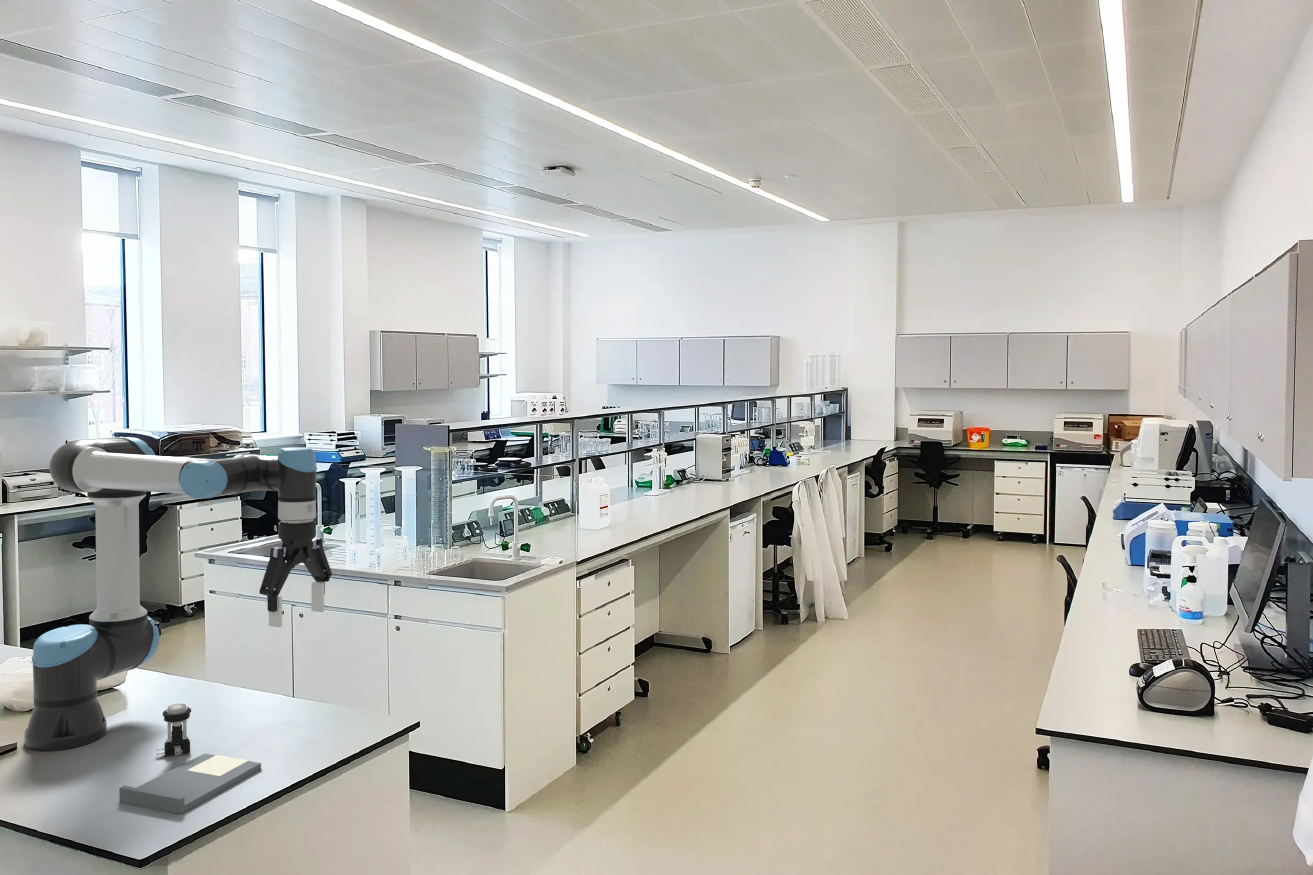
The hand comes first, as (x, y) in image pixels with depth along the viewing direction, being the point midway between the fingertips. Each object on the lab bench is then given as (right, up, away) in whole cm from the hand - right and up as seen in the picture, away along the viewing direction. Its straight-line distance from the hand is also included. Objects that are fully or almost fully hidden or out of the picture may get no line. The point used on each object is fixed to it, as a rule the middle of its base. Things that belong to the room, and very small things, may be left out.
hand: (297, 618), depth 199 cm
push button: (-24, -28, -4) cm, 37 cm away
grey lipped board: (-13, -29, -18) cm, 37 cm away
